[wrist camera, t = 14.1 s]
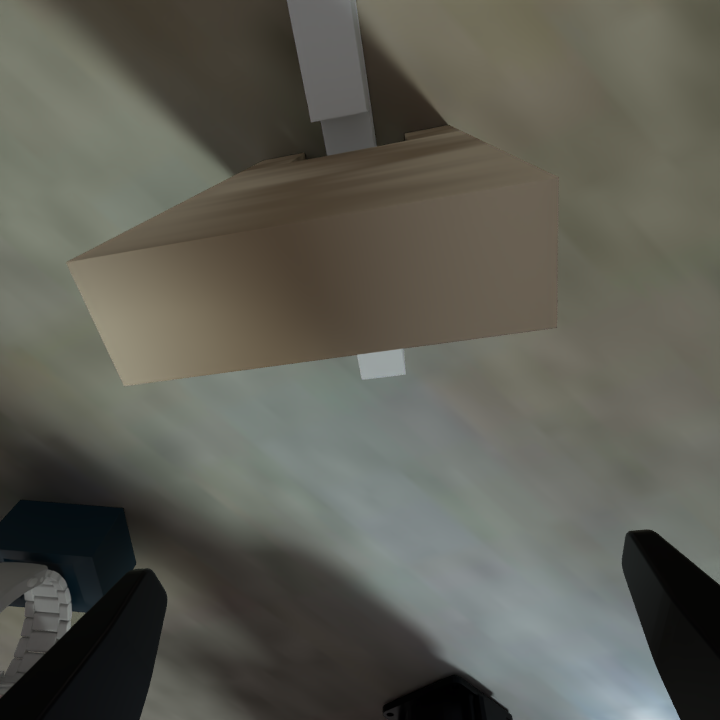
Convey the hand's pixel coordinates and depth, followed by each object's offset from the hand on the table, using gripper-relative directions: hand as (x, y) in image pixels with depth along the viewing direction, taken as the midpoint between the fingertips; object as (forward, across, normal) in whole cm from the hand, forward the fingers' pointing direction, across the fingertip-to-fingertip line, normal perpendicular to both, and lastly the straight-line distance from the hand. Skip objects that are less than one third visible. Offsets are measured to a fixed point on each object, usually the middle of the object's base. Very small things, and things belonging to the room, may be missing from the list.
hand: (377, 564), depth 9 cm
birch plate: (+12, 0, -5) cm, 13 cm away
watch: (+12, +18, +11) cm, 24 cm away
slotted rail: (+12, 0, -5) cm, 13 cm away
